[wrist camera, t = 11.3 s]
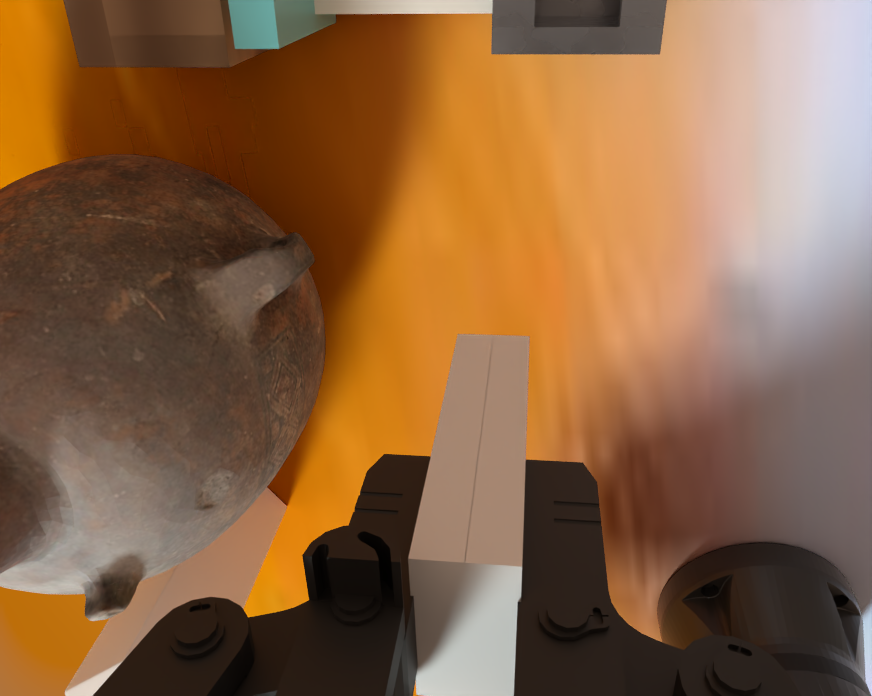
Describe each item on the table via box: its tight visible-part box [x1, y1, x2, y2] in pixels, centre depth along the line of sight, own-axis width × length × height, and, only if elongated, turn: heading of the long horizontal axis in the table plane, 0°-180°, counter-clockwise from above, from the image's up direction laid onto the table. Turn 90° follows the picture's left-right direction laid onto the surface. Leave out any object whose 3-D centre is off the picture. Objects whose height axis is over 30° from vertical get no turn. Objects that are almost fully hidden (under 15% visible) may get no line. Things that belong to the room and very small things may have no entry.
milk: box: [65, 488, 287, 696], centre depth 51 cm, size 6×6×22 cm
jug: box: [0, 154, 325, 621], centre depth 38 cm, size 24×21×30 cm
